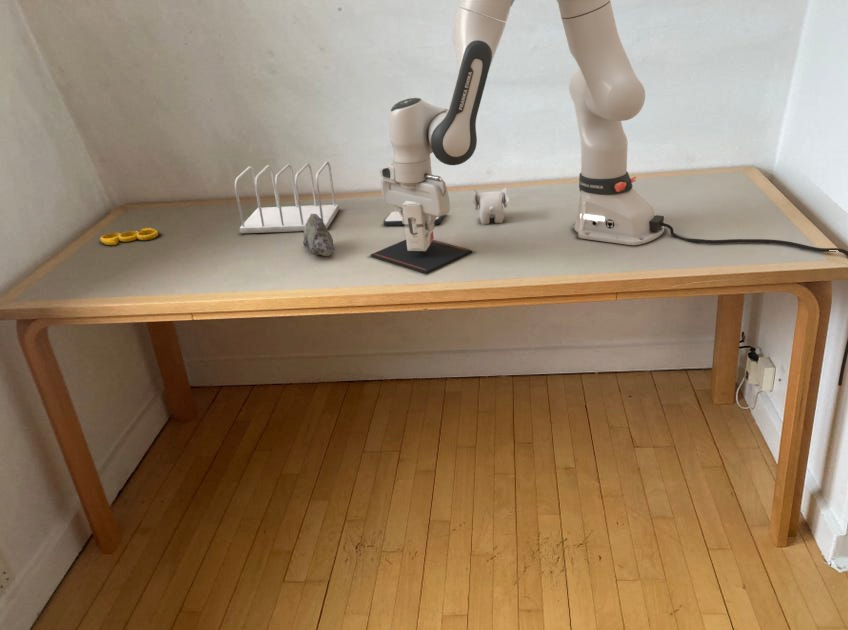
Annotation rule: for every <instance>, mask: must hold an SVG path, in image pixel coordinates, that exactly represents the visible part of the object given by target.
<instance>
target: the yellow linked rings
mask: <svg viewBox="0 0 848 630" xmlns="http://www.w3.org/2000/svg"><path fill="white" fill-rule="evenodd" d="M158 236H159V231H158V230H157V229H154V228H153V227H143V228H141V229H140V230H139V231H137V230H130V231H125V232H122V233H120V232H110V233H106V234H103V235H102V236H100V238H99V239H100V242H101V243H102V244H104V245H106V246H117V245H118V244H119V243H120V242H122V243H130V242H134V241H137V240H139V241H150V240H154V239H156V238H157V237H158Z"/></svg>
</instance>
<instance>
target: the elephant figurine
mask: <svg viewBox="0 0 848 630" xmlns="http://www.w3.org/2000/svg"><path fill="white" fill-rule="evenodd" d="M509 201H510V198H509V195H508V191H507V187H506V186H505V187H504V188H502V190H494V191H483V192H481V191H480V192H478V191H477V190H475V189H473V200H472V203H473V205H474V206H475V207H474V210H475V211H478V215H479V221H480V223H481V224H482V225H489V224H490V222H491V220H490V217H491V216H493V219H494V221H493V223H496V224H502V223H503V222H504V217H505V213H504V208H505V209H506V208H508V202H509Z"/></svg>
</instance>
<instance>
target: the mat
mask: <svg viewBox="0 0 848 630" xmlns="http://www.w3.org/2000/svg"><path fill="white" fill-rule="evenodd" d="M472 253H473V250H472V249H470V248H469V249H468V248H465V247H461V246H457V245H453V244H450V243H446V242H443V241H438V240H435V239H433V241H432V242H431V244H430V245H429V247H428V248H427V250H426V251H408V250H407V242H406V239H404V240H402V241H398V242H397V243H394V244H392V245H390V246H387V247H385V248H383V249H380V250H378V251H375V252H372V253H371V254H370V257H371V258H375V259H377V260H380V261H384V262H387V263H390V264H393V265H397V266H399V267H403V268H406V269H409V270H413V271H416V272H419V273H422V274H425V275H427V274H429V273H432V272H434V271H436V270H438V269H440V268H442V267H444V266H447V265H449V264H450V263H453V262H455V261H457V260H459V259H462V258H463V257H466V256H468V255H470V254H472Z"/></svg>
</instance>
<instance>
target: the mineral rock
mask: <svg viewBox="0 0 848 630" xmlns="http://www.w3.org/2000/svg"><path fill="white" fill-rule="evenodd" d="M333 239H334V238H333V236H332V234H331V233H330V231H329V230H328V228H327V229H326V227H325V225H324V222H323V220H322V219H321V218H320V217H319V216H318V215H317V214H310V217H309V218H308V220H307V223H306V224H305V228H304V231H303V241H302V244H303V246H305V247H307V249H308V250H309V252H310V254H312V255H315V256H316V255H319V256H323V257H328V256H330V255H332V254H333V250H334V248H335V247H334V240H333Z"/></svg>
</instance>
